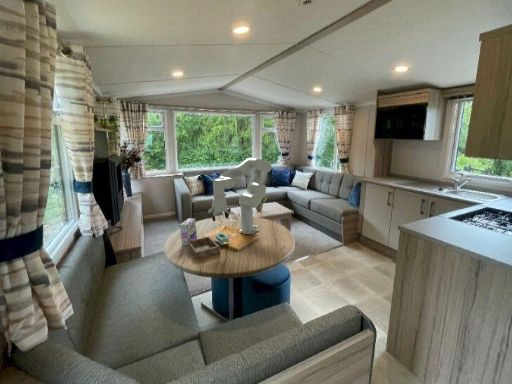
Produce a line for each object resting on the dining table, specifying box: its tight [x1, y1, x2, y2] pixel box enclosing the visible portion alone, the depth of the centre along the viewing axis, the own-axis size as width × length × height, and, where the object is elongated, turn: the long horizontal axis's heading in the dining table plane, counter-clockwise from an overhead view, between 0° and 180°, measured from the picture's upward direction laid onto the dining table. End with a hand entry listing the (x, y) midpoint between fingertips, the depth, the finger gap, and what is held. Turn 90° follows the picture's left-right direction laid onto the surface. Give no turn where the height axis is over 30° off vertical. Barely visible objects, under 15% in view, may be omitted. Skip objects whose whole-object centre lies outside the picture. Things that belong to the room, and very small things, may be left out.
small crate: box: [215, 232, 230, 247], centre depth 185 cm, size 6×10×5 cm, turn 31°
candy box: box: [179, 217, 198, 247], centre depth 186 cm, size 14×6×16 cm, turn 168°
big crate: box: [187, 235, 221, 260], centre depth 173 cm, size 16×20×5 cm
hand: (220, 219), depth 181 cm, fingers open, 9 cm apart
